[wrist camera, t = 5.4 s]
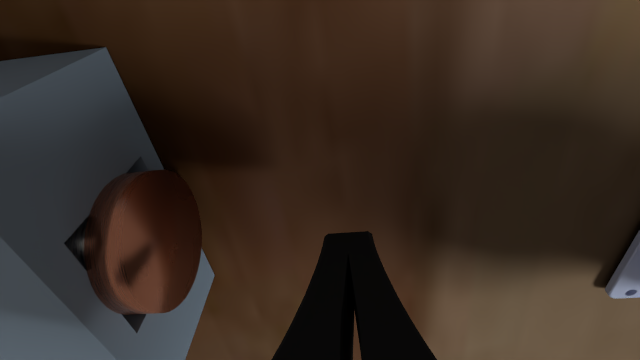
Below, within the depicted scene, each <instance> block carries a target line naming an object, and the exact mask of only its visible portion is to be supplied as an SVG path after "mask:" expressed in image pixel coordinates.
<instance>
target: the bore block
mask: <svg viewBox="0 0 640 360" xmlns="http://www.w3.org/2000/svg"><path fill="white" fill-rule="evenodd" d="M153 170H164V168H163V166H162V164H161V162H160V160H159V158H158V156H157V153H156V151H155V149H154V147H153V145H152V143H151V141H150V139H149V137H148V135H147V132H146V130H145V128H144V126H143V124H142V122H141V120H140V118H139V116H138V114H137V111H136V109H135V107H134V105H133V103H132V101H131V99H130V97H129V95H128V93H127V90H126V88H125V86H124V84H123V82H122V80H121V78H120V76H119V74H118V72H117V69H116V67H115V65H114V63H113V61H112V59H111V57H110V55H109V53H108V51H107V49H106V47H104V48H96V49H89V50H81V51H73V52H66V53H58V54H51V55H43V56H36V57H28V58H21V59H13V60H5V61H0V360H185V359H186V356H187V353H188V350H189V347H190V344H191V341H192V339H193V336H194V333H195V330H196V327H197V324H198V321H199V319H200V316H201V313H202V310H203V307H204V304H205V301H206V299H207V296H208V293H209V290H210V287H211V284H212V281H213V279H214V276H215V275H214V273H213V271H212V269H211V267H210V265H209V263H208V261H207V258H206V256H205V254H204V252H203V250H202V248H201V257H200V263H199V268H198V272H197V275H196V278H195V281H194V284H193V286H192V288H191V290H190V292H189V293H188V295H187V297H186V298H185V299H184V301H183V302H182V303H181V304H180V305H179V306H178V307H176V308H175V309H173V310H172V311H170V312H166V313H153V314H133V315H123V314H118V313H116V312H113V311H112V310H110V309H109V308H107V307H106V306H105V305H104V304H103V303H102V302H101V301H100V300H99V298H98V297H97V295H96V294H95V292H94V290H93V288H92V286H91V284H90V281H89V278H88V275H87V271H86V270H85V269H84V267H83V266H82V265H81V264H80V262H79V261H78V260H77V259H76V258H75V256H74V255H73V254H72V253H71V251H70V250H69V249H68V248H67V246H66V245H65V244H64V243H65V242H66V240H67V239H68V238H69V237H70V236H71V235H72V234H73V233H74V231H75V230H76V229H77V228H78V227H79V226H80V225H81V223H82V222H83V221H84V220H85V219H86V218H87V217H88V216H89V214H90V211H91V209H92V206H93V204H94V202H95V200H96V198H97V197H98V195H99V193H100V192H101V191H102V189H103V188H104V187H105V186H106V185H107V184H108V183H109V182H110V181H111V180H113V179H114V178H116V177H118V176H120V175H122V174H126V173H132V172H143V171H153Z"/></svg>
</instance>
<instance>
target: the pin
mask: <svg viewBox="0 0 640 360" xmlns="http://www.w3.org/2000/svg"><path fill="white" fill-rule="evenodd" d="M64 244H65V245H66V246H67V248H68V249H69V250H70V251H71V253H72V254H73V255H74V256H75V258H76V259H77V260H78V261H79V262H80V264H81V265H82V266H83V267H84V269H85V270H86V271H87V275H88V278H89V281H90V284H91V286H92V288H93V290H94V292H95V294H96V295H97V297H98V298H99V300H100V301H101V302H102V303H103V304H104V305H105V306H106V307H107V308H109V309H110V310H112V311H113V312H116V313H118V314H123V315H133V314H153V313H166V312H170V311H172V310H173V309H175V308H176V307H178V306H179V305H180V304H181V303H182V302H183V301H184V299H185V298H186V297H187V295H188V293H189V292H190V290H191V288H192V286H193V284H194V281H195V278H196V275H197V272H198V268H199V263H200V257H201V248H202V230H201V221H200V215H199V211H198V207H197V204H196V201H195V198H194V196H193V194H192V192H191V190H190V188H189V186H188V185H187V183H186V182H185V181H184V180H183V179H182V178H181V177H180V176H179V175H178V174H176V173H174V172H172V171H169V170H153V171H143V172H132V173H126V174H122V175H120V176H118V177H116V178H114V179H113V180H111V181H110V182H109V183H108V184H107V185H106V186H105V187H104V188H103V189H102V191H101V192H100V193H99V195H98V197H97V198H96V200H95V202H94V204H93V206H92V209H91V211H90V214H89V216H88V217H87V218H86V219H85V220H84V221H83V222H82V223H81V225H80V226H79V227H78V228H77V229H76V230H75V231H74V233H73V234H72V235H71V236H70V237H69V238H68V239H67V240H66V242H65V243H64Z"/></svg>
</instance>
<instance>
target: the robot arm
mask: <svg viewBox="0 0 640 360" xmlns="http://www.w3.org/2000/svg"><path fill="white" fill-rule="evenodd" d="M605 291H606V293H607V294H608V295H609V296H610V297H611V298H638V297H640V230H639V231H638V233H637V235H636V236H635V238H634V240H633V242H632V243H631V245H630V247H629V248H628V250H627V252H626V254H625V255H624V257H623V259H622V260H621V262H620V264H619V265H618V267H617V269H616V271H615V272H614V274H613V276H612V277H611V279H610V281H609V283H608V284H607V286H606V288H605ZM354 309H355V316H356V323H357V330H358V337H359V343H360V350H361V358H362V360H437V359H436V358H435V356H434V355H433V353H432V352H431V350H430V349H429V347H428V346H427V344H426V343H425V341H424V340H423V338H422V337H421V335H420V333H419V332H418V330H417V329H416V327H415V325H414V324H413V322H412V320H411V319H410V317H409V315H408V314H407V312H406V310H405V308H404V307H403V305H402V303H401V301H400V300H399V298H398V296H397V294H396V292H395V290H394V288H393V286H392V284H391V282H390V280H389V278H388V276H387V274H386V272H385V270H384V268H383V265H382V263H381V261H380V258H379V256H378V253H377V250H376V247H375V244H374V241H373V237H372V234H371V233H370V232H368V231H366V232H350V233H334V234H327V235H326V236H325V238H324V243H323V247H322V250H321V254H320V257H319V260H318V263H317V266H316V269H315V271H314V274H313V276H312V279H311V281H310V284H309V286H308V289H307V291H306V294H305V296H304V298H303V300H302V302H301V305H300V307H299V309H298V311H297V313H296V315H295V317H294V319H293V321H292V323H291V325H290V327H289V329H288V331H287V333H286V335H285V337H284V339H283V340H282V342H281V344H280V346H279V348H278V349H277V351H276V353H275V355H274V356H273V358H272V360H353V336H354Z"/></svg>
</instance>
